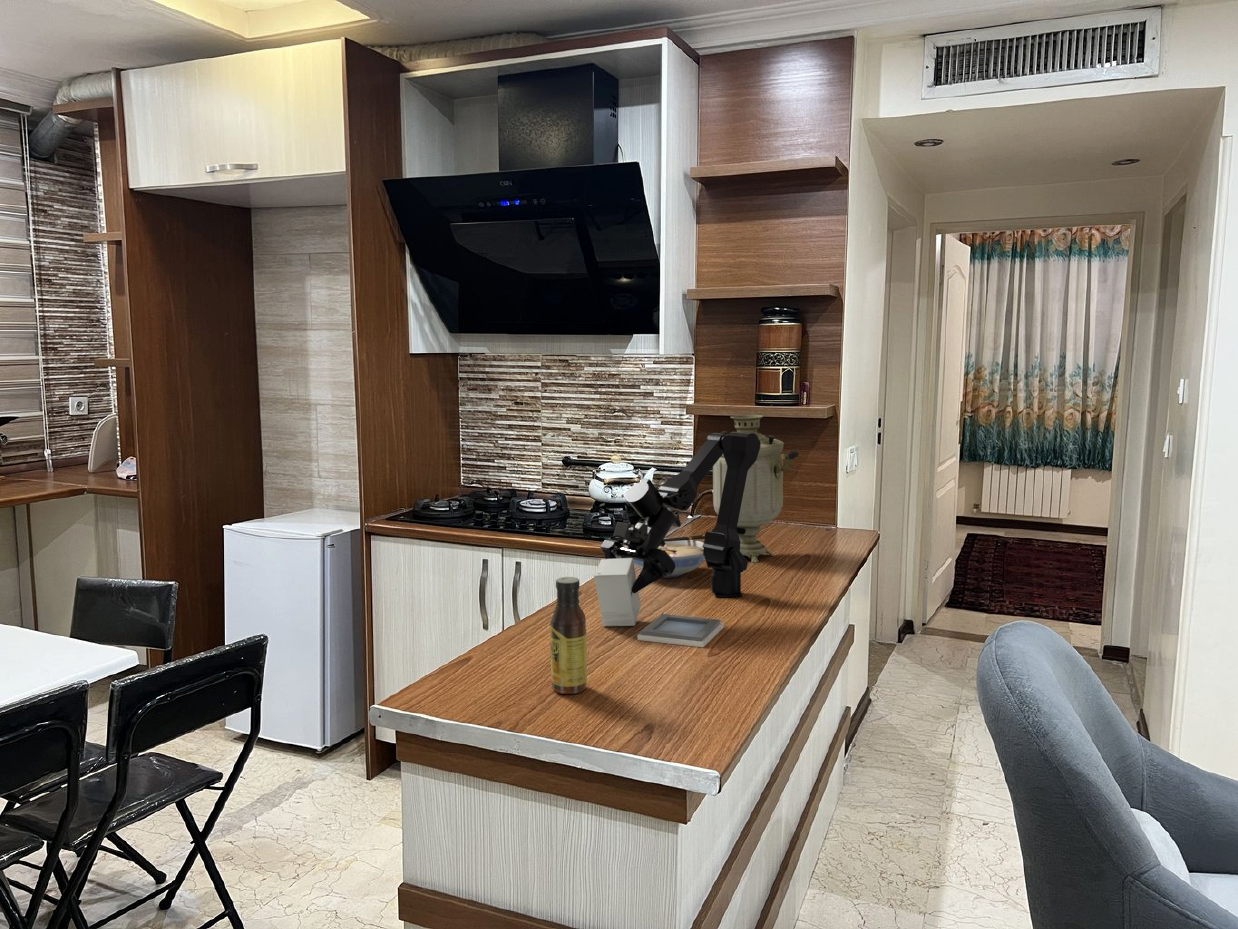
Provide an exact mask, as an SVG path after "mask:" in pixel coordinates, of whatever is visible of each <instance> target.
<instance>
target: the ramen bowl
mask: <svg viewBox="0 0 1238 929" xmlns="http://www.w3.org/2000/svg"><path fill="white" fill-rule="evenodd" d="M704 539H705V535H702V534H699V535H688V536H680V537H671V538H670V537H669V538H664V539H663V541H664V542H665V543H666V544H665V545H664V547H661V546H659V547H658V549H660V550H665V551H666V552H667V554H668V555H669V556H670V557H671V558H672V559H673V561H674V562H675V570H674V571H673V573H672V574H671V575H667V574H666V575H667V576H666V577H664V578H667V579H668V578H678V577H680V576H682V575H684V574H686V573H689V572H692V571H695V570H696V569H697V568H698V567H700V565H701V564H702V563H703V562H704V561H706V560H705V556H704V555H703V548H702V546H703V544H704V541H701V540H704ZM620 543H621V544H622V545H623V546H624V547H625V549H628V546H627V545H625V544H624V542H623V543H622V542H620ZM633 562H634V566H635V567H636V568H638V569H640V570H642V569H643V561H639V560H634V559H633Z"/></svg>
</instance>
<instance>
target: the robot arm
mask: <svg viewBox="0 0 1238 929" xmlns="http://www.w3.org/2000/svg"><path fill="white" fill-rule="evenodd" d="M720 433H721V432H720ZM720 433H719V432H712V433H710V434H708V436H707V437H706V441H705V442H704V443H703V445H701V446H702V447H701V446H700V447H701V448H700V447H699V449H698V451H696V453H695V454H694V455H693V456H692V458H691V459H690V461H688V463H687V464H686V465H685V467H684V468H683V469H682V470H681V471H680V472H678V473H677V474H675V475H673V476H671V477H669V478H668V479H667V480H666V481H665V482H664V483H662V485H660V487H659V488H656V487H655V486H654V483H653V482H652V481H651V479H650V478H642V479H641V481H639V482H636V483H635V484H633V485H632V486H631V487H629V488H628V489H627V490H626V492H625V496H624V497H625V500H626V502H628V504H629V505H630V506H631V508H633V509H634V511H636V513H637V514H638V516H640V518H643V519H644V518H645V519H644V521H643V523H642V522H637V523H636V524H631V523H625V522H620V521H617V523H616V525H615V529H614V532H613V535H612V536H613V537H615V538H619V539H622V540H623V543H624V544H625V545H622V544H621V543H622V542H620V541H619V540H614V539H610V538H608V539H604V541H603V542H602V543H601V545H600V547H599V548H600V550H601V553H602V554H603V555H604V559H618V558H633V559H634V560H639V561H643V569H641V571H640V573H639V574H638V576H637V577H636V581H635V583H634V585H633V587H632V590H631V591H632V592H633V593H636V592H640V591H641V590H643V589H644V588H646V587H648V586H649V585H651V584H653V583H655V582H656V581H659V580H660V579H662V578H665V577H666V576H667V575H671V574H672V573H673V571H674V570H675V562H674V561H673V559H672V558H671V557H670V556H669V555H668V554H667V552H666V551H665V550H660V549H658V547H659V546H661V547H664V545H665V544H666V543H665V542H664V541H663V539H666V536H667V535H668V533H669V531H670V530H671V528H672V527H677V528H681V526H682V522H681V520H680V515H679V514H677V513H674V512H673V510H678V511H687V510H689V508H690V507H691V506H692V505H693V503H694V501H695V499H696V497H697V496H698V487H699V485H700V484H701V483H702V482H703V480H704V478H706V476H707V475H708V474H709V472H710V471H711V470H712V469H713V466H714V465H715V463H716V462H717V461H718V460H719V458H720V457H721V456H722V455H724V458H725V461H726V464H727V471H726V476H725V481H724V486H723V492H722V497H721V502H720V507H719V512H718V515H717V517H716V523H715V526H714V527H713V529H711V531H709V530H706V531H705V532H704V537H705V539H703V543H704V544H703V546H702V548H703V555H704V556H705V560H704V561H705V562H706V566H707V568H711V569H712V573H711V574H710V591H711V593H712V594H713V595H714V597H715V598H729V597H730V598H735V597H739V598H740V597H743V593H742V591H741V590H742V589H741V588H742V584H741V583H742V577H741V576H742V573H744V571H747V569H748V564H749V561H748V559H747V558H746V557H745V555H743V554H742V553H741V552H740V543H741V542H740V539H739V536H738V533H737V524H738V519H739V514H740V509H741V503H742V498H743V493H744V488H745V483H746V477H747V472H748V470H749V469H750V467H751V466H752V465H753V464H754V463H755V461H756V460H757V457H758V453H759V450H760V445H761V443H760V440H759V438H758V436H757V435H756V434H755V433H745V432H737V431H731V432H729V433H728V434H720ZM626 545H627V546H628V549H625V546H626ZM666 574H667V575H666Z"/></svg>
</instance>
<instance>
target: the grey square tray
mask: <svg viewBox="0 0 1238 929" xmlns="http://www.w3.org/2000/svg"><path fill="white" fill-rule="evenodd" d="M723 629H724V623H723V622H721V619H715V618H705V617H695V616H686V615H678V614H668V613H662V614H660V615H659V616H658V617H656V618H655V619H654V620H652V622H650V623H649V624H647V625H646V626H644V627H643V628H642V629H641V630H640V633H638V634H637V641H644V642H645V641H646V642H653V643H662V644H663V643H664V644H670V645H680V646H688V647H696V648H705V646H707V644H708V643H709V642H711V641H712V640H713V639H714V638H715V637H716V635H718V634H719V632H721V631H722V630H723Z"/></svg>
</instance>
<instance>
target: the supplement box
mask: <svg viewBox="0 0 1238 929" xmlns="http://www.w3.org/2000/svg"><path fill="white" fill-rule="evenodd" d="M593 578H594V582H595V588H596V595H597V600H598V605H599V606H598V607H599V612H600V617H601V622H602V623H601V624H602V626H603V627H631V626H636V623H637V618H638V616H639V613H640V610H641V608H642V607H641V600H640V593H639V592H640V591H638V592H636V593H633V592H632V591H631V590H632V587H633V585H634V583H635V581H636V580H637V576H636V569H635V564H634V562H633V558H618V559H605V558H602V559H600V561H599V564H598V566H597V568H596V571H595V573H594V576H593Z"/></svg>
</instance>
